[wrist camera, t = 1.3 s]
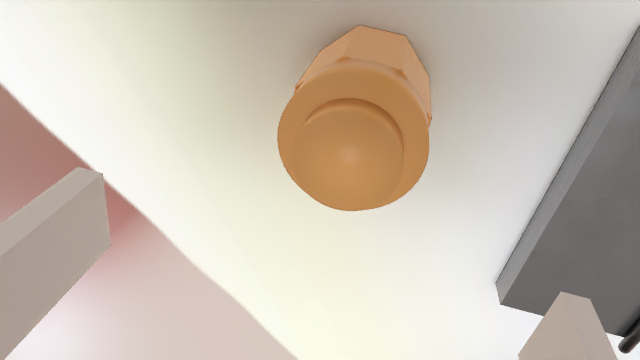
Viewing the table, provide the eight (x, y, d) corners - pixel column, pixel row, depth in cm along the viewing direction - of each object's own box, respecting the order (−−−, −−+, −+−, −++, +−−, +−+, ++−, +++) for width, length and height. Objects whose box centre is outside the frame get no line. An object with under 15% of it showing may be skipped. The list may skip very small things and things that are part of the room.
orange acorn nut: (324, 15, 23) (276, 68, 16) (441, 41, 23) (454, 109, 15) (306, 121, 27) (260, 208, 19) (408, 145, 26) (403, 245, 19)
